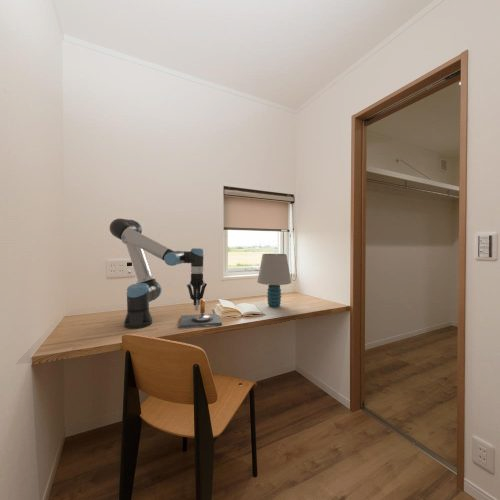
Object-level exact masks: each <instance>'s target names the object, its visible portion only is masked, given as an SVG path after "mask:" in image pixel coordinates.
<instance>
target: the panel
mask: <svg viewBox="0 0 500 500" xmlns="http://www.w3.org/2000/svg"><path fill="white" fill-rule="evenodd" d="M208 314H209V315H210V316H211V319H210V320H208V321H195V320H194V316H195V315H196V314H186V315H185V314H184V315H183V314H182V315H180V321H179V325H178V326H179V329H185V328H187V327H188V328H197V327H196V326H202V327H206V326H205V325H216V326H222V325H223V321H222V319H221V318H222V317H221V315H220V314H219V315H220V316H219V315H217V314H216V312H215V313H208Z"/></svg>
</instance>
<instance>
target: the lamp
mask: <svg viewBox="0 0 500 500" xmlns="http://www.w3.org/2000/svg"><path fill="white" fill-rule="evenodd" d="M289 267H290V266H289V261H288V256H287V254H286V253H263V254H262V256H261V259H260V266H259V271H258V276H257V283H258V284H261V285H267V293H266V294H267V296H266V297H267V304H268V307H269V308H280V306H281V302H282V292H281V291H282V288H281V286H285V285H289V284H292V278H291V273H290V268H289Z"/></svg>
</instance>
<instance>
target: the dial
mask: <svg viewBox="0 0 500 500" xmlns="http://www.w3.org/2000/svg"><path fill="white" fill-rule="evenodd" d="M205 302H206V300H205V299H201V300H200V304H199V307H200V309H199V312H200V313H199V314H194V315H195V316H194V320H195V321H208V320H210V319H211V316H210V315H209V314H210V313H206V312H205V311H206V310H205V309H206V308H205V306H206V303H205Z"/></svg>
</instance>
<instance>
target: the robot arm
mask: <svg viewBox="0 0 500 500" xmlns="http://www.w3.org/2000/svg"><path fill="white" fill-rule="evenodd" d="M109 232H110V233H111V235H112V236H113V237H115V238H117V239H119V240H120V241H121V242H122V243H123V244H125V245H126V248H127V252H128V254H129V257H130V258H129V259H130V260H131V263H132V266H133V270H134V272H135V275H136V279H137V281H136V283H133V284H131V285H129V286H128V287H127V289H126V305H127V306H126V308H127V309H126V310H127V312H126V315H125V317H124V318H125V319H124V321H123V322H124V323H123V326H124V328H127V329H141V328H146V327H148V326H150V325H151V324H153V318H152V315H151V312H150V302H152V301H155V300H157V298H159V297H160V295H161V294H162V285H161V284H160V283H159V282H158V281H157V280H156V277H155V276H153V275H152V272H151V269H150V266H149V264H148V260H147V258H146V254H145V252H147V253H149V254H151V255H153V256H155V257H156V258H159V259H160V260H162V261H164V263H165V264H166V265H167V266H170V267H172V266H177V265H181V264H190V273H191V274H190V282H189V283H188V284H186V287H187V289H188V293H189V297H190V300H193V306H194V311H199V306H200V300H203V299H204V298H203V297H204V293H205V291H206V287H207V285H208V284H207V283H205V281H204V249H203V248H199V247H198V248H196V247H195V248H193V247H192V248H191V250H190V251H186V250H185V251H184V250H183V251H182V250H172V249H171V248H169V247H167V246H165V245H163V244H162V243H160V242H157V241H155V240H153V239H152V238H151V237H148V236H146V235H144V234H142V232H143V228H142V225H141V224H140V223H139V222H138V221H137V220H133V219H125V218H116V219H114V220H112V221H111V223H110V225H109Z"/></svg>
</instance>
